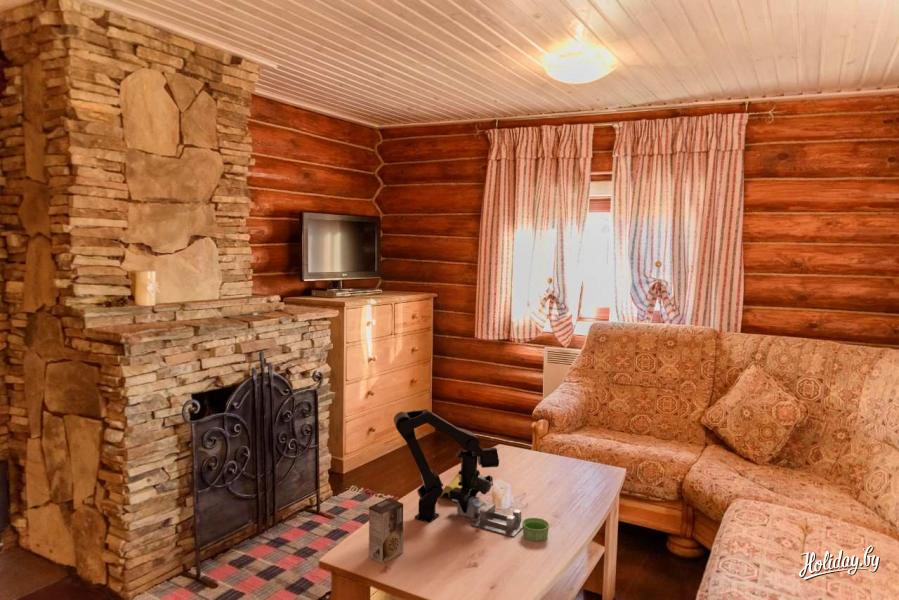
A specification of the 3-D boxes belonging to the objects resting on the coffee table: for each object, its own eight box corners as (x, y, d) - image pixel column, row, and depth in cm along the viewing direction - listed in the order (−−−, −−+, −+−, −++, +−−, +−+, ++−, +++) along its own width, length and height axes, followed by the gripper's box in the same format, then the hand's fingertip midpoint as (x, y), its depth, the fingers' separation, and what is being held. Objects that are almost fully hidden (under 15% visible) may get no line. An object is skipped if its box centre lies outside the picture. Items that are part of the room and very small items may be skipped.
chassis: (513, 537, 202) (513, 524, 202) (470, 525, 210) (470, 512, 210) (529, 521, 214) (530, 508, 214) (488, 510, 222) (488, 498, 222)
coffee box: (388, 546, 195) (389, 497, 193) (403, 553, 191) (404, 502, 189) (367, 557, 188) (368, 506, 186) (382, 564, 184) (383, 512, 182)
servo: (479, 519, 215) (479, 500, 214) (451, 512, 220) (452, 493, 219) (484, 515, 218) (484, 496, 217) (457, 508, 223) (457, 490, 223)
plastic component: (466, 498, 227) (444, 482, 230) (458, 513, 229) (436, 497, 232) (484, 475, 245) (463, 462, 248) (477, 490, 247) (456, 476, 250)
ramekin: (552, 534, 205) (553, 521, 205) (542, 545, 198) (543, 532, 197) (528, 527, 210) (528, 515, 209) (517, 538, 202) (517, 525, 202)
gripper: (477, 481, 205) (476, 526, 207) (500, 464, 222) (499, 506, 223) (448, 474, 211) (447, 518, 212) (473, 458, 227) (472, 499, 228)
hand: (467, 510), depth 219 cm, fingers closed on servo, 4 cm apart
